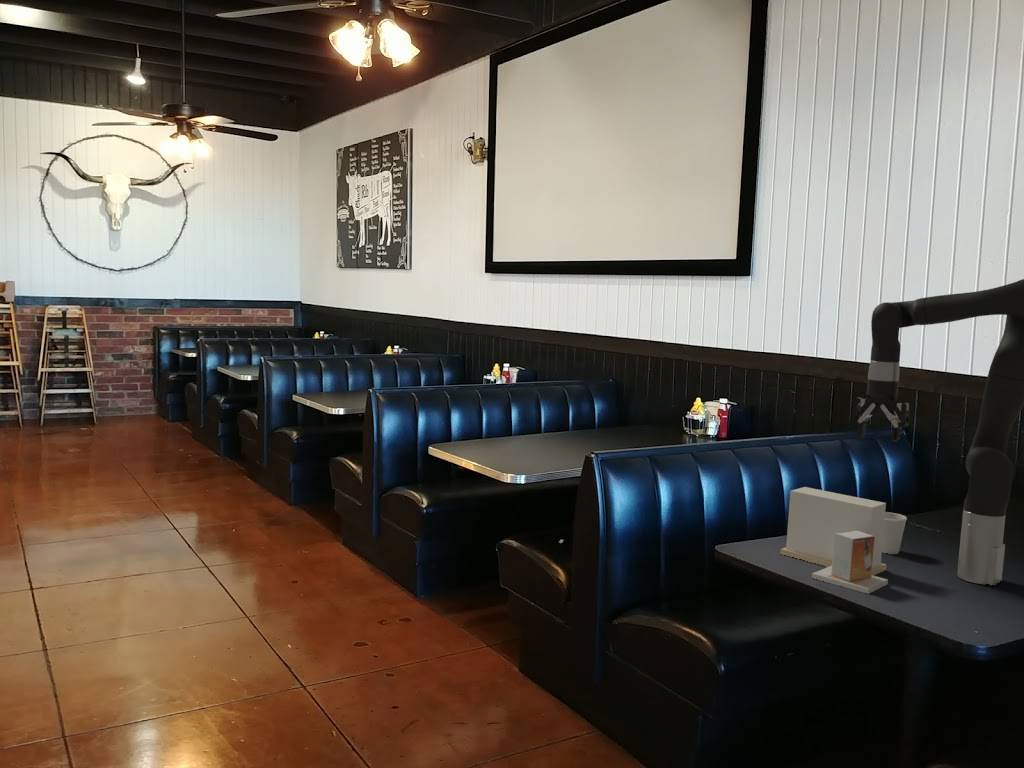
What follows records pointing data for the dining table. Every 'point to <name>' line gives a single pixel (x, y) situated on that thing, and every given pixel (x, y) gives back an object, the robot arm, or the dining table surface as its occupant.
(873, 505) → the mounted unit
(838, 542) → the small box
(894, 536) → the dixie cup
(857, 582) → the pad
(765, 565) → the dining table surface
